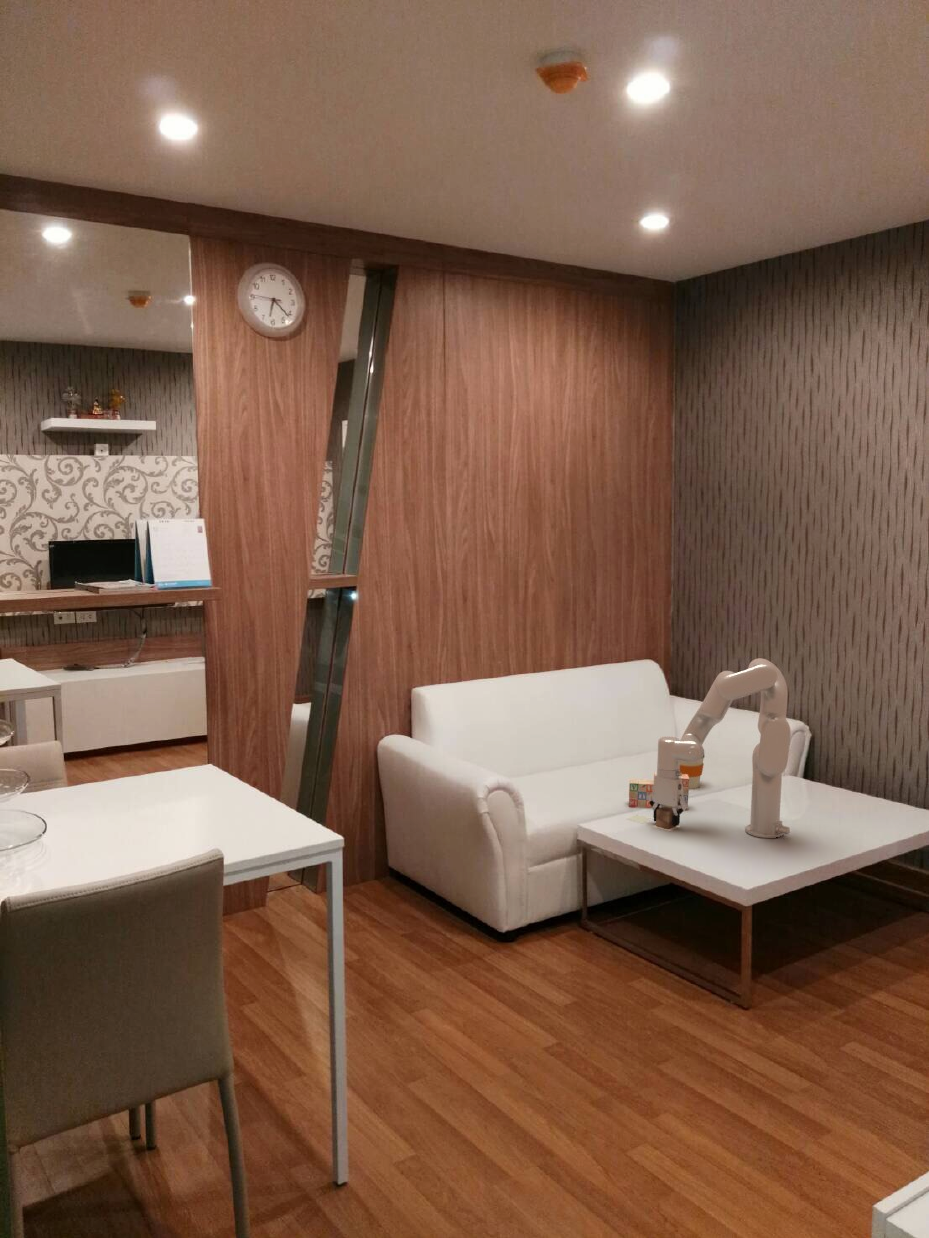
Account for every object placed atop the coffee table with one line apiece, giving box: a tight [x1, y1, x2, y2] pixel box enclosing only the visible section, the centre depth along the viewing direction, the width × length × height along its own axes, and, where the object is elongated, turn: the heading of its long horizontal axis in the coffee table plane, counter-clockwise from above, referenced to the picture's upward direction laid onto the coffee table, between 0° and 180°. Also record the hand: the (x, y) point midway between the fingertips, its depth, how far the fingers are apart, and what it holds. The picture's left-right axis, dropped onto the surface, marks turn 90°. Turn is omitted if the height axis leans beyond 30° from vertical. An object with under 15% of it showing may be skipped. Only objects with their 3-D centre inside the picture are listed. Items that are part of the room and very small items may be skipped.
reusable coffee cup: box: [679, 748, 705, 790], centre depth 400 cm, size 13×13×15 cm
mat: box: [626, 814, 681, 832], centre depth 354 cm, size 21×16×1 cm
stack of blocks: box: [628, 771, 690, 812], centre depth 373 cm, size 21×6×12 cm, turn 81°
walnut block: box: [655, 806, 676, 830], centre depth 350 cm, size 5×5×6 cm
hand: (666, 822), depth 350 cm, fingers open, 6 cm apart
